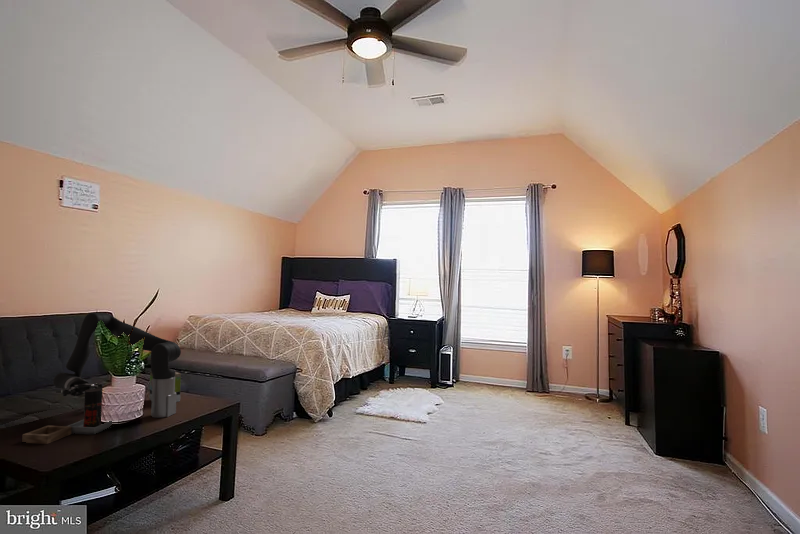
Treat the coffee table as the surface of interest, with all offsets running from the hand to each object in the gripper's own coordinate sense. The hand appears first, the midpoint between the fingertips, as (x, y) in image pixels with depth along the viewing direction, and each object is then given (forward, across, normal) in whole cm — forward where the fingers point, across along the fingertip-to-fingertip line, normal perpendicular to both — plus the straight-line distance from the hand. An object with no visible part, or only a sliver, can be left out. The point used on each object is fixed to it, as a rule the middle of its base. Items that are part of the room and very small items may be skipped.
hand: (86, 391), depth 183 cm
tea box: (-11, +36, +14) cm, 40 cm away
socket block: (+11, -15, +13) cm, 23 cm away
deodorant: (+11, 0, +13) cm, 17 cm away
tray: (+11, 0, +13) cm, 17 cm away
